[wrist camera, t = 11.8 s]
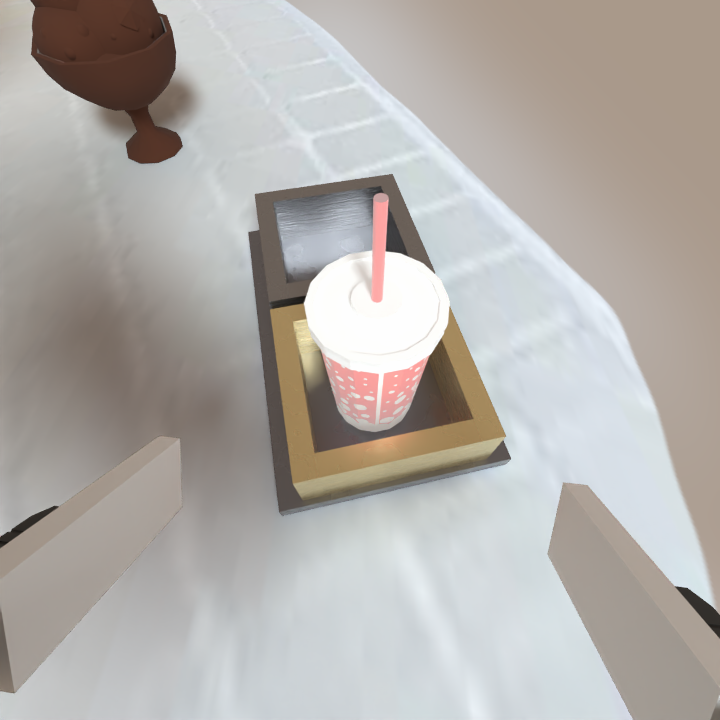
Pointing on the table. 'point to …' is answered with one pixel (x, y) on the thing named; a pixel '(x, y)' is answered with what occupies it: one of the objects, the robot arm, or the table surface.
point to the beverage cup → (376, 327)
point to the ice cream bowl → (111, 61)
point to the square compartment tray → (308, 371)
